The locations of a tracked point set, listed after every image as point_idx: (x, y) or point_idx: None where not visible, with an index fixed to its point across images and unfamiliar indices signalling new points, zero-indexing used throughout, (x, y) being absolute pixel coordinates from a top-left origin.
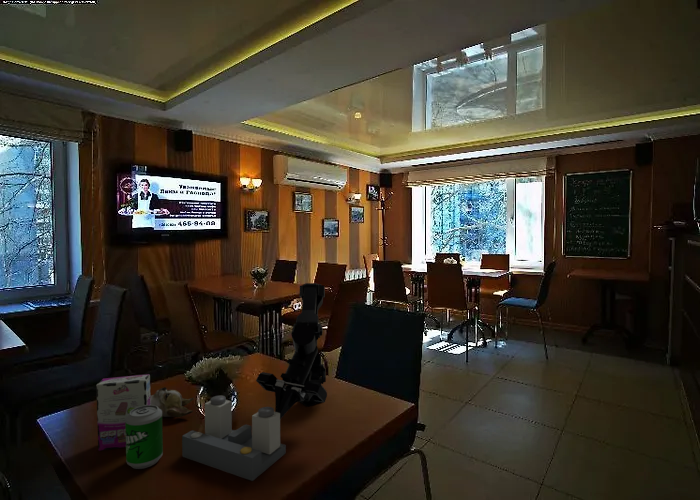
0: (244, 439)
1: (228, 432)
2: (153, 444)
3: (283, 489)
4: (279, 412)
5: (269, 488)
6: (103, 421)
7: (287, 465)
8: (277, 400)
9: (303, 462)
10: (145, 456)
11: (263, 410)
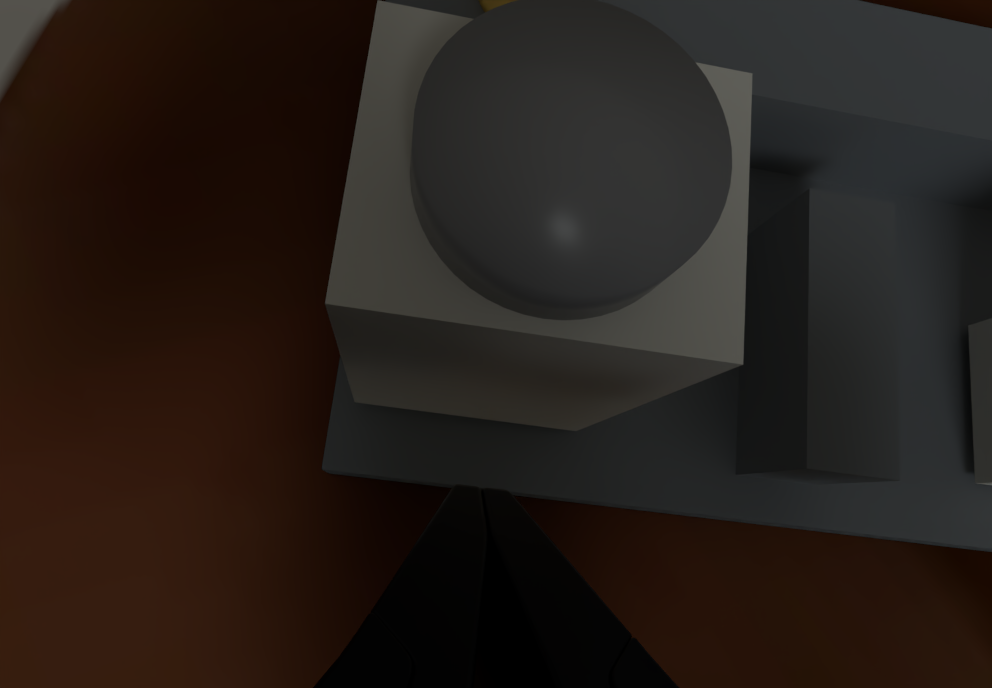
0: (756, 362)
1: (988, 435)
2: None
3: (116, 16)
4: (451, 525)
5: (229, 4)
6: None
7: (222, 299)
8: (605, 668)
9: (88, 386)
10: None
11: (616, 112)
